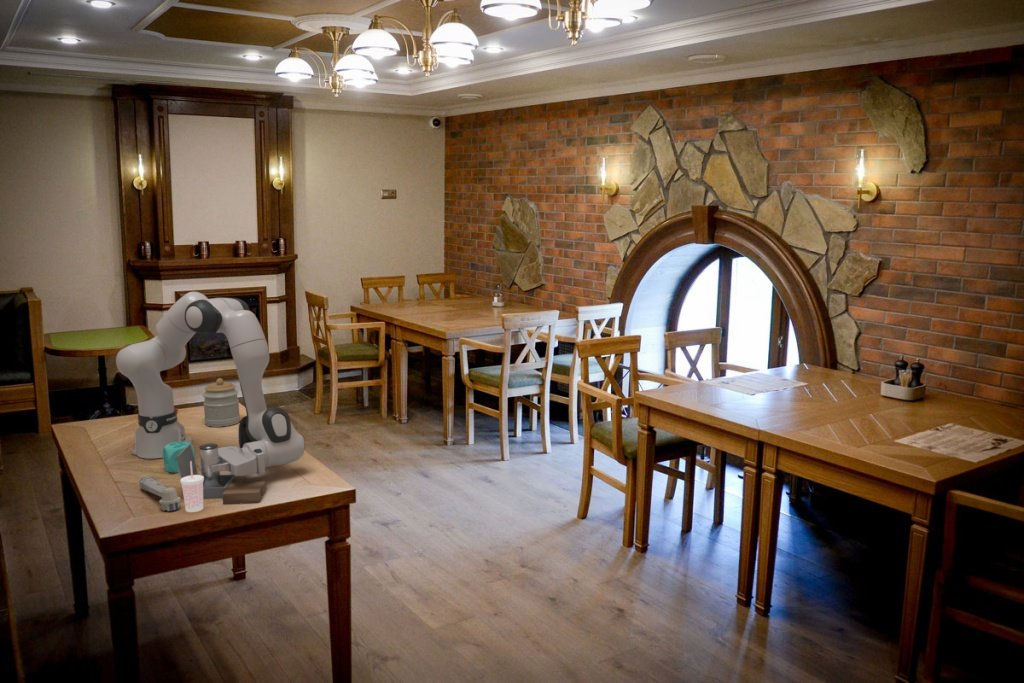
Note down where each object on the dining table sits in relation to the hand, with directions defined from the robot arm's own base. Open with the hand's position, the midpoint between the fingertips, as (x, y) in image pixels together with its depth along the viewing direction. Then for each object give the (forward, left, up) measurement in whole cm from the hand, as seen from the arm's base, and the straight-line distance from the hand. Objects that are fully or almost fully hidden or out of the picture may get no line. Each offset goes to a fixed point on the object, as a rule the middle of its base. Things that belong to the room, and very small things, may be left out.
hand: (207, 466), depth 242 cm
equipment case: (-1, +1, -8) cm, 8 cm away
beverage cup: (+13, 0, -8) cm, 16 cm away
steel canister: (-1, +1, -8) cm, 8 cm away
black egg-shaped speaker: (-28, +9, -7) cm, 31 cm away
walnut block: (+5, +12, -8) cm, 15 cm away
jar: (-77, -16, -8) cm, 79 cm away
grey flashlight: (+5, -13, -9) cm, 16 cm away
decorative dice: (-23, -15, -8) cm, 28 cm away
